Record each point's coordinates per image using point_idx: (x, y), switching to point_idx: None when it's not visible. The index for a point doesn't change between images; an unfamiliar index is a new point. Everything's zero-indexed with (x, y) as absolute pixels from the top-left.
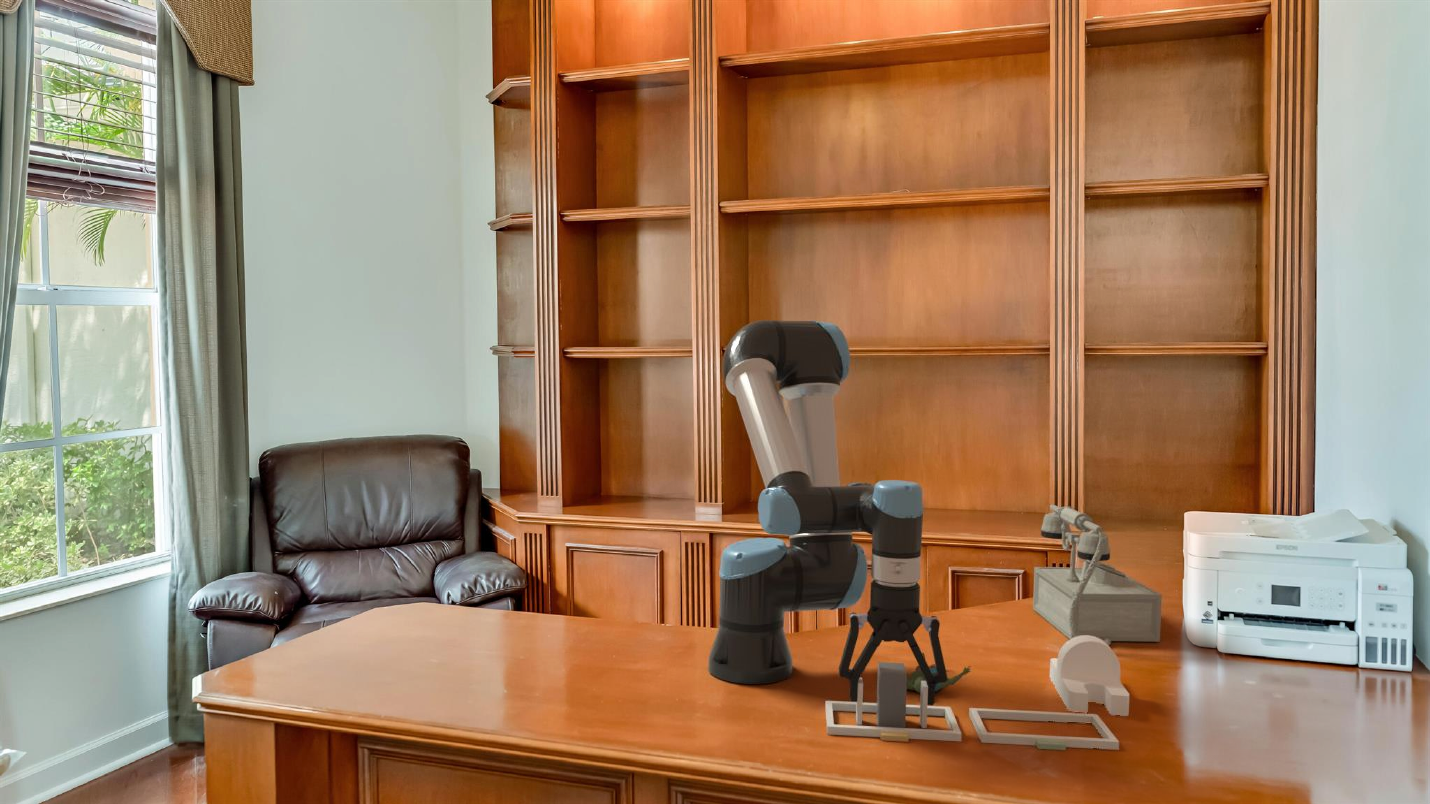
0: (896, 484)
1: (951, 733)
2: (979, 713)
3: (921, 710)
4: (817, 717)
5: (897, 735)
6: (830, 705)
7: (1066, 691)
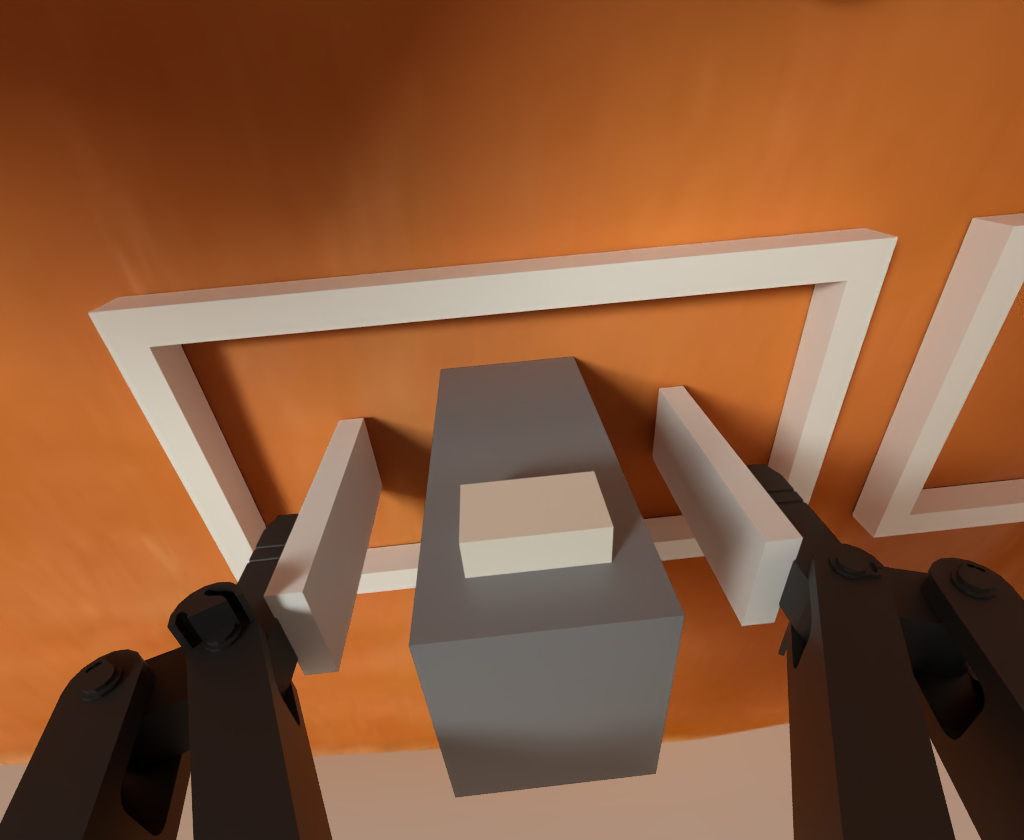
0: None
1: None
2: None
3: (680, 480)
4: (143, 434)
5: None
6: (158, 386)
7: None
